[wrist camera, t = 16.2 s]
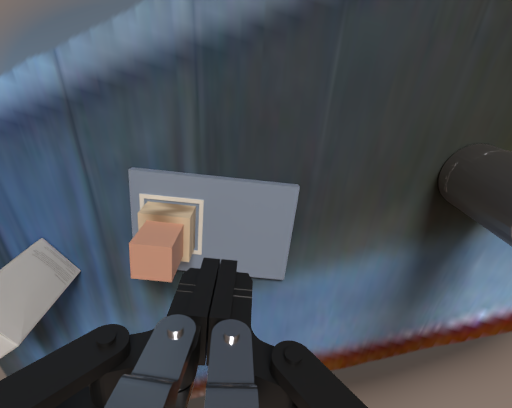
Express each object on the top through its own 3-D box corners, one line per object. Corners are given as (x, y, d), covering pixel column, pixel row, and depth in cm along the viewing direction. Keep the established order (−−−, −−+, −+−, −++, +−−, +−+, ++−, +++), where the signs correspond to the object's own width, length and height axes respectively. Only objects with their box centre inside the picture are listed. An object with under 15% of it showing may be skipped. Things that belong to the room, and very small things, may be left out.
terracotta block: (183, 224, 42) (171, 247, 36) (183, 255, 44) (171, 282, 38) (146, 220, 42) (129, 243, 36) (147, 252, 44) (131, 278, 38)
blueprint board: (298, 184, 45) (299, 188, 44) (283, 275, 51) (283, 280, 50) (131, 167, 44) (127, 170, 43) (137, 261, 51) (133, 266, 49)
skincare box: (18, 255, 50) (-78, 329, 36) (44, 234, 49) (-46, 303, 35) (59, 289, 53) (-16, 370, 39) (85, 271, 51) (17, 348, 37)
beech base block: (195, 206, 45) (190, 218, 41) (194, 247, 48) (189, 262, 44) (147, 201, 45) (137, 212, 41) (149, 242, 48) (139, 257, 44)
